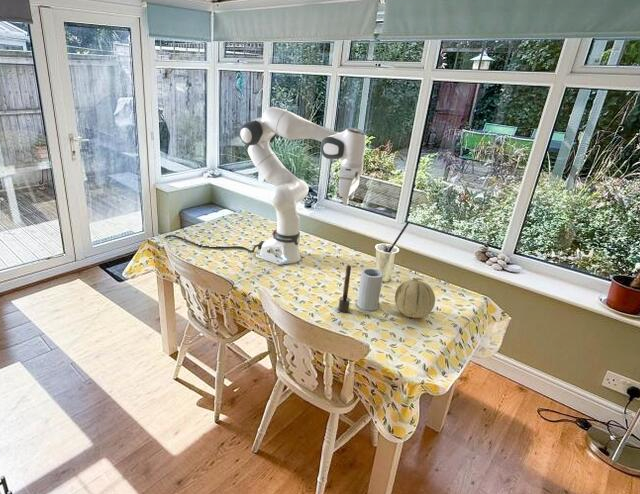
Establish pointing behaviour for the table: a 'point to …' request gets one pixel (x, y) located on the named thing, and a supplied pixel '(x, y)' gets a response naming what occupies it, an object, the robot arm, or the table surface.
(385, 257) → the glass
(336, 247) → the table surface
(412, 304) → the cantaloupe
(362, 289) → the grey hollow cylinder
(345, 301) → the brown pestle
